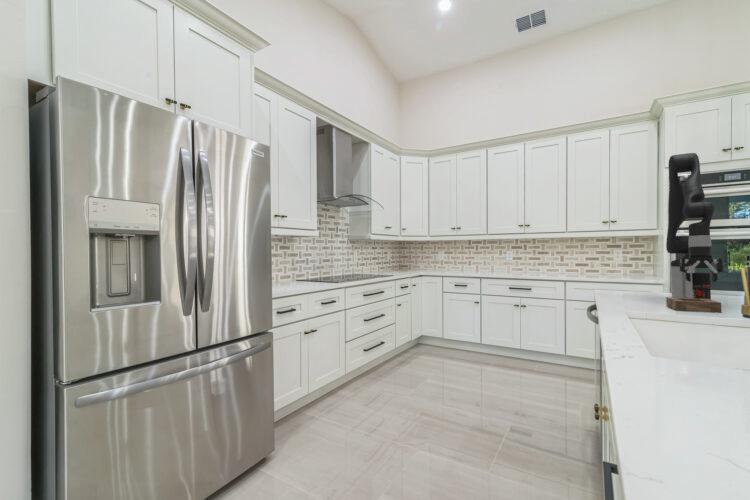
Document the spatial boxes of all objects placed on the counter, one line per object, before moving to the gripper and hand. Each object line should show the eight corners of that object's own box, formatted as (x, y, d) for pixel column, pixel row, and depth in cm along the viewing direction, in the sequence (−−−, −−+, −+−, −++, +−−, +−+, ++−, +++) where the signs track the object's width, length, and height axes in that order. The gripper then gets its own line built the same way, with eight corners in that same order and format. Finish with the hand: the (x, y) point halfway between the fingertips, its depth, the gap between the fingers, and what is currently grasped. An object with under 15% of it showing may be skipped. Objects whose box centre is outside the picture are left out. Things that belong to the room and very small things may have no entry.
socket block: (666, 306, 157) (666, 297, 157) (707, 308, 151) (706, 298, 151) (676, 310, 145) (676, 301, 145) (721, 312, 138) (721, 302, 138)
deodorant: (714, 307, 153) (713, 273, 153) (701, 307, 153) (700, 273, 154) (702, 305, 159) (701, 272, 159) (689, 305, 159) (688, 272, 160)
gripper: (717, 245, 157) (718, 281, 156) (676, 246, 163) (678, 281, 163) (724, 245, 150) (726, 282, 150) (682, 245, 157) (683, 281, 156)
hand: (701, 281), depth 156 cm, fingers open, 8 cm apart
